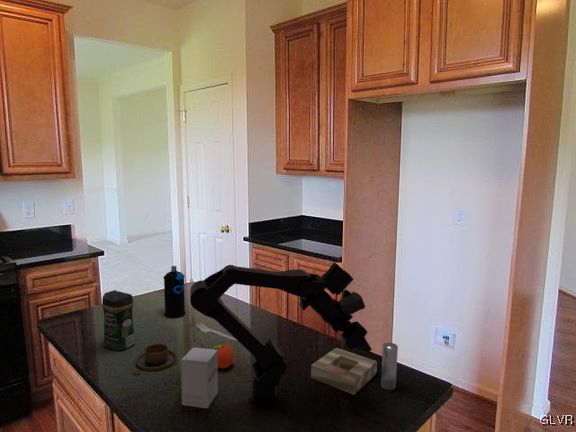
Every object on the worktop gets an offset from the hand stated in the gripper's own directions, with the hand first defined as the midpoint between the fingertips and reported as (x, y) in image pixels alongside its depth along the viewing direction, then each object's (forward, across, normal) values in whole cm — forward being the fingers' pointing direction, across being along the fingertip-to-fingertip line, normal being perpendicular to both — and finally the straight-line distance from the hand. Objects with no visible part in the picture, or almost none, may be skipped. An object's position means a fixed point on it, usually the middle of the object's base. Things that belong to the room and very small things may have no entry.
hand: (363, 342), depth 113 cm
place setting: (-28, +24, +48) cm, 61 cm away
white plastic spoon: (-15, +44, +36) cm, 59 cm away
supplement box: (-21, +4, +41) cm, 46 cm away
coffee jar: (-39, +42, +59) cm, 82 cm away
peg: (+15, 0, +4) cm, 16 cm away
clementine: (-16, +20, +36) cm, 44 cm away
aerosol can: (-27, +66, +46) cm, 85 cm away
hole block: (+8, +7, +11) cm, 16 cm away
